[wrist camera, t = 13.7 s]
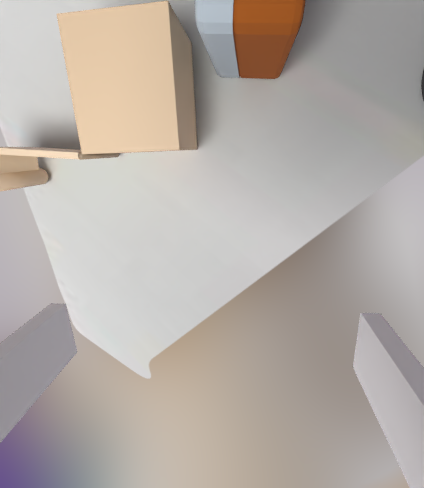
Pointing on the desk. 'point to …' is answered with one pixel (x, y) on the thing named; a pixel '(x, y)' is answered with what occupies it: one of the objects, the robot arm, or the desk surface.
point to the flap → (33, 164)
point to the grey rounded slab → (248, 35)
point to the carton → (130, 78)
